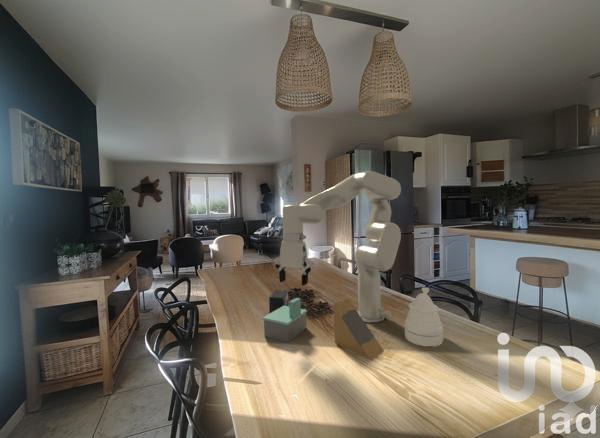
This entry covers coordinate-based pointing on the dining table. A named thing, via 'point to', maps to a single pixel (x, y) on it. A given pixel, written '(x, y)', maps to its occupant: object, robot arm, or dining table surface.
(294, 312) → the lid
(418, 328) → the honey pot
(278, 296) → the small box
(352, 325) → the sandwich container
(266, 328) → the tub
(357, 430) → the dining table surface
